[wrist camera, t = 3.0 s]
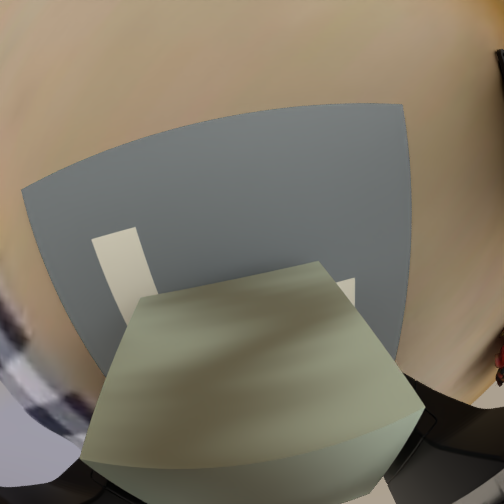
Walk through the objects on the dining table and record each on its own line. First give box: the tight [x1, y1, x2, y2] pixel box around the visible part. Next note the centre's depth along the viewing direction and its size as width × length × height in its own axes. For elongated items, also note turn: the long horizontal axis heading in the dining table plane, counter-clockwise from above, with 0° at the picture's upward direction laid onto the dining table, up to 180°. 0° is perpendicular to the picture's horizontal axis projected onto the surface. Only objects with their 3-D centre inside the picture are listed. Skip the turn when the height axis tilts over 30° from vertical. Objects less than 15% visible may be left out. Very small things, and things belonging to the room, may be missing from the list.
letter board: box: [21, 103, 412, 377], centre depth 11 cm, size 16×16×1 cm
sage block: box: [80, 261, 425, 504], centre depth 7 cm, size 6×6×6 cm
